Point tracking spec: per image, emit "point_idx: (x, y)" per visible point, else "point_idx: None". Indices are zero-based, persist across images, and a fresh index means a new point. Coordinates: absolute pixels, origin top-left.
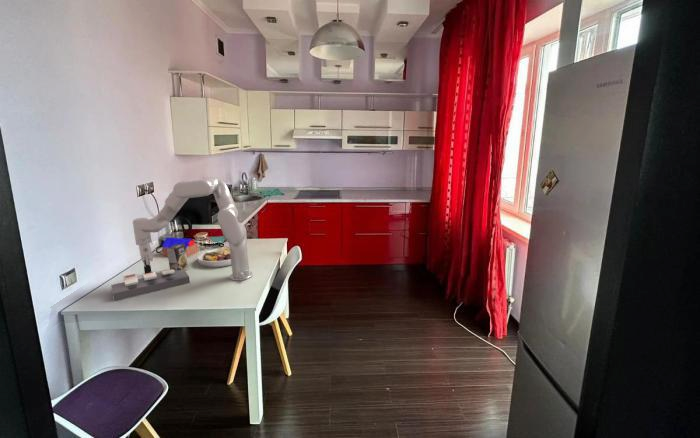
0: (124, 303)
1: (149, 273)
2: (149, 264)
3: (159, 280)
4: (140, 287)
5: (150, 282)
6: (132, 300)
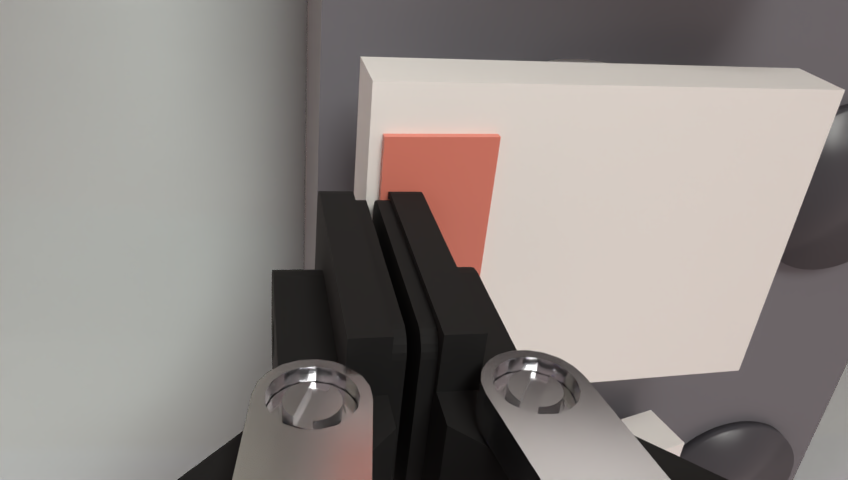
0: (837, 466)
1: (481, 247)
2: (605, 431)
3: (836, 12)
4: (836, 377)
5: (803, 218)
6: (839, 397)
